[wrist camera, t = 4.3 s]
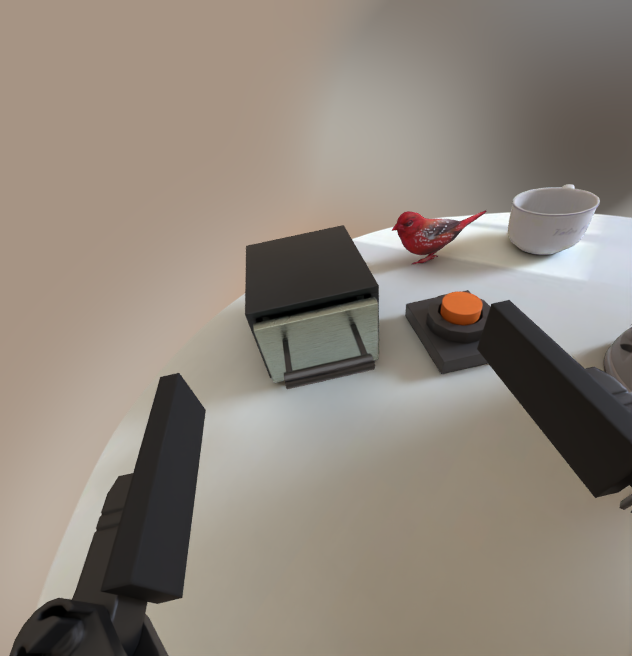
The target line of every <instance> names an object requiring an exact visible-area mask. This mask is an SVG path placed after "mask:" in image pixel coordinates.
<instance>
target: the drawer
mask: <svg viewBox="0 0 632 656" xmlns="http://www.w3.org/2000/svg"><path fill="white" fill-rule="evenodd" d="M262 319H263V322H258V323H254V333H255V336H256V338H257V341H258V343H259V346H260V348H261V351H262V354H263V356H264V359H265V361H266V364H267V366H268V369H269V371H270V374H271V376H272V379H273V382H274V383H277V382H281V381H285V385H286V388H287V389H291V388H295V387H299V386H304V385H308V384H313V383H317V382H322V381H326V380H330V379H335V378H339V377H344V376H348V375H352V374H357V373H361V372H366V371H370V370H374V369H375V364H374V360H378V302H377V300H376V299H375V297H372V298H368V299H364V295H363V296H358V297H354V298H349V299H344V300H340V301H335V302H331V303H326V304H322V305H317V306H313V307H308V308H303V309H299V310H294V311H290V312H285V313H281V314H276V315H272V316H267V317H263V318H262Z"/></svg>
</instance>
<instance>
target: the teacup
mask: <svg viewBox="0 0 632 656" xmlns="http://www.w3.org/2000/svg"><path fill="white" fill-rule="evenodd" d="M599 202H600V200H599V198H598V197H597V196H596V195H594V194H593V193H590V192H587V191H584V190H580V189H574V186H573V185H564V186H563V187H562V188H559V187H553V188H551V187H550V188H540V189H534V190H529V191H526V192H523V193H521V194H519V195H517V196H516V197H514V199H513V201H512V204H513V206H512V210H511V214H510V219H509V225H508V236H509V239H510V240H511V242H512V243H514V244H515V245H516V246H517V247H518V248H519V249H521V250H523V251H525V252H528V253H532V254H540V255H546V254H553V253H557V252H560V251H562V250H565V249H567V248H570V247H572V246H573V245H575V244H576V243H578V242H579V241H580V240H581V238H582V237H583V235H584V234H585V232H586V230H587V228H588V226H589V224H590V222H591V219H592V217H593V215H594V212H595V210H596V208H597V207H598V205H599Z"/></svg>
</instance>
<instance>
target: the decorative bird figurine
mask: <svg viewBox="0 0 632 656" xmlns="http://www.w3.org/2000/svg"><path fill="white" fill-rule="evenodd" d="M485 212H486V211H483V212H480V213H478V214H476V215H474V216H471V217H469V218H467V219H465V220H462V221H456V220H450V219H426V218H424V217H422V216H421V215H420V214H418V213H414V212H404V213H403V214H401V215H400V217H399V218H398V221H397V224H396V225H395V226H394V227H393V229H392V231H393V230H397V232H398V235H399V237H400V239H401V241H402V244H403V245H404V247H405V248H406V249H407V250H408V251H410V252H411V253H414V254H417V255H427V254H429V255H428V256H427V257H425V258H424V259H421V260H419V261H418V262H415V263H413V264H416V263H424V262H426V261H428V260H431V259H434V257H435V256H436V257H438V256H437V255H433V254H434V253H436V252H437V251H439V250H440V249H442V248H443V247H444V246H445V245H447V244H448V243H450V242H451V241H453V240H454V239H455V238H456V237H457V235H458V234H459V233H460V232H461V231H462V229H464V228H465V227H466V226H467V225H468V224H470V223H471V222H473V221H474V220H476V219H477V218H479V217H480V216H482V215H483V214H484V213H485ZM432 255H433V256H432ZM432 257H433V258H432Z"/></svg>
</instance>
